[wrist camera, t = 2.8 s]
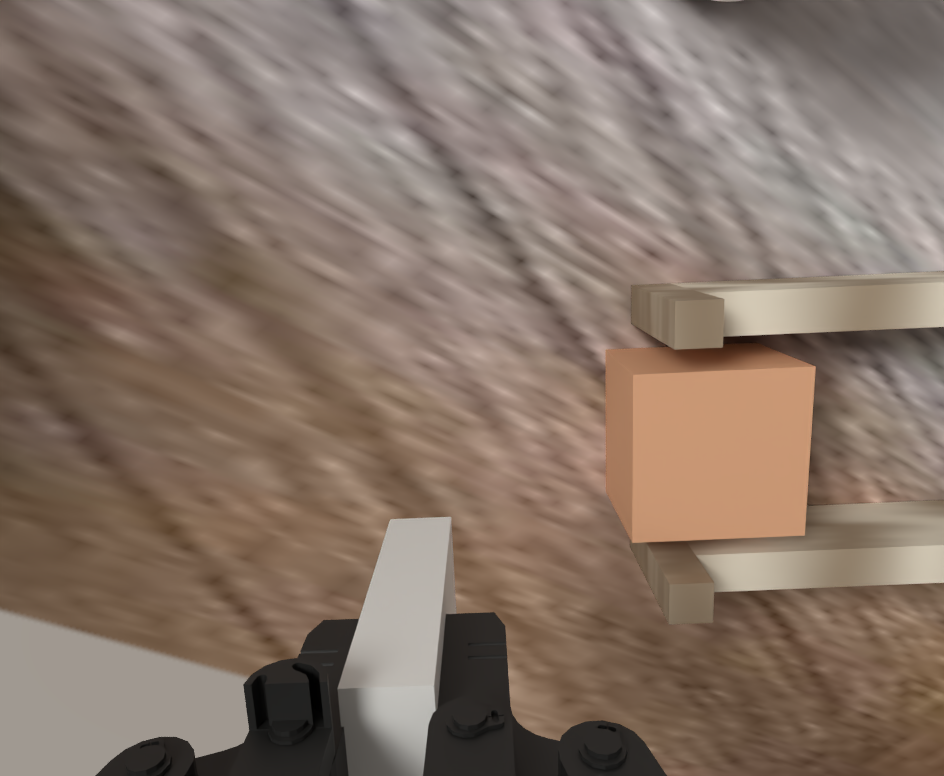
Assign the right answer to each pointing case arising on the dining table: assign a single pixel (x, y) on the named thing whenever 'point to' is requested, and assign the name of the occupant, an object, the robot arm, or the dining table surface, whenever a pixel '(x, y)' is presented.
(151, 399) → the dining table surface
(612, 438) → the block
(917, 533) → the parallel beige rails
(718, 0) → the beverage can
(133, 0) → the dining table surface
